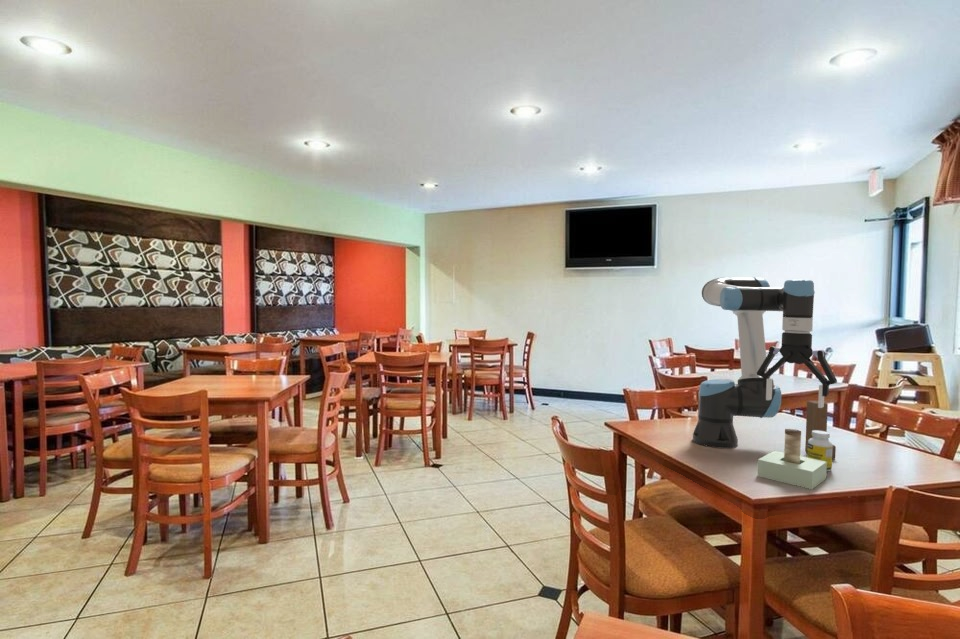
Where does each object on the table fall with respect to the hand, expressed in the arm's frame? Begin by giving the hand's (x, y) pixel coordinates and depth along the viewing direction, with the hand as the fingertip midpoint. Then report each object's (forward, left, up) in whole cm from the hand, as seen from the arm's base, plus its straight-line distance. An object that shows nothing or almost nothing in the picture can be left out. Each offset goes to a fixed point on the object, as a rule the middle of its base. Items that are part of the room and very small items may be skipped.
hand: (793, 403), depth 147 cm
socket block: (0, 0, -22) cm, 22 cm away
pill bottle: (+3, +16, -22) cm, 27 cm away
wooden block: (-1, +33, -22) cm, 40 cm away
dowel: (0, 0, -22) cm, 22 cm away
